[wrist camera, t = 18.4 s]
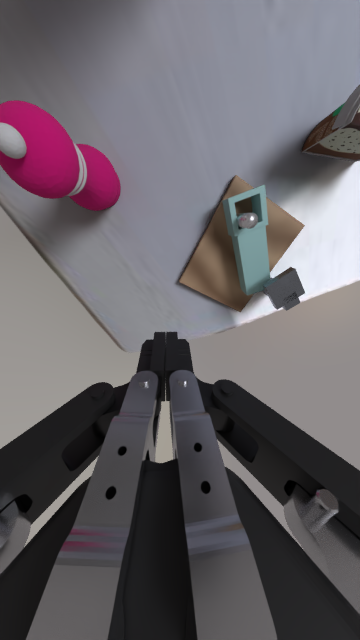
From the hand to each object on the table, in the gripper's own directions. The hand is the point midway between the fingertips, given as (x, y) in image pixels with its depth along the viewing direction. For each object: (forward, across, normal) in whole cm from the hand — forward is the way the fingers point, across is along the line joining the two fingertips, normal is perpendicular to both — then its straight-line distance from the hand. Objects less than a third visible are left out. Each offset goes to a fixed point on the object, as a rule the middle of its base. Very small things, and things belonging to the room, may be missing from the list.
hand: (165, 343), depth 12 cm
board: (+26, -13, -1) cm, 30 cm away
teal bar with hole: (+25, -14, -3) cm, 29 cm away
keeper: (+26, -20, +3) cm, 33 cm away
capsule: (+26, -12, -7) cm, 30 cm away
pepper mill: (+27, +10, -12) cm, 31 cm away
